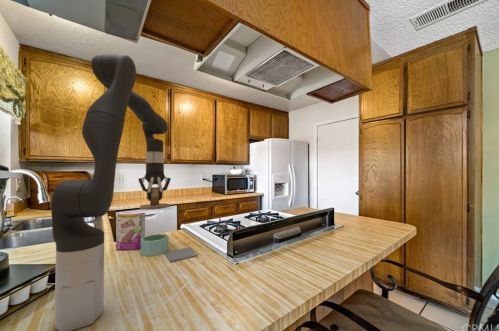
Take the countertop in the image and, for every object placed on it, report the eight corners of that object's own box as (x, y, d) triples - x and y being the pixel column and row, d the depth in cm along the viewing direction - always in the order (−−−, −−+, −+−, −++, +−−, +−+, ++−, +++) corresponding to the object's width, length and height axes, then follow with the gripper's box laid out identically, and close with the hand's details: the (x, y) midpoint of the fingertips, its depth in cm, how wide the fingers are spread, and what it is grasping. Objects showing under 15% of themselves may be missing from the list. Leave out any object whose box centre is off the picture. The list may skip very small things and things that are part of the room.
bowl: (169, 252, 92) (169, 238, 93) (141, 258, 87) (141, 243, 87) (165, 245, 102) (165, 232, 102) (139, 249, 96) (140, 236, 96)
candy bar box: (115, 250, 96) (115, 214, 96) (121, 246, 101) (122, 212, 101) (140, 250, 96) (140, 213, 97) (145, 246, 101) (145, 211, 102)
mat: (197, 256, 88) (197, 254, 88) (169, 262, 82) (169, 260, 82) (190, 248, 97) (190, 247, 97) (165, 253, 91) (165, 252, 91)
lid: (171, 207, 93) (171, 187, 93) (140, 210, 87) (140, 188, 87) (166, 204, 103) (166, 186, 104) (138, 207, 97) (139, 187, 97)
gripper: (137, 161, 89) (137, 202, 88) (172, 162, 96) (172, 200, 96) (136, 162, 96) (136, 200, 95) (169, 163, 103) (169, 198, 102)
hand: (154, 200), depth 95 cm, fingers closed on lid, 3 cm apart
